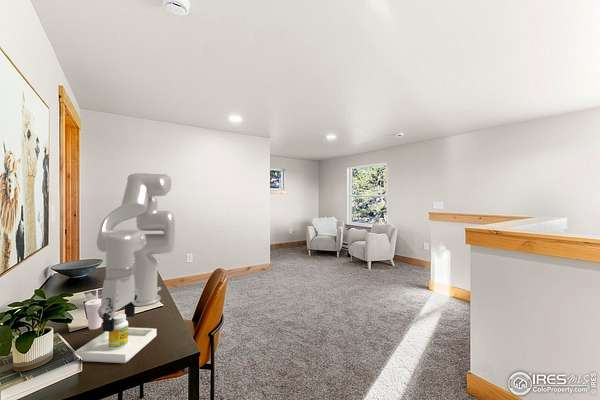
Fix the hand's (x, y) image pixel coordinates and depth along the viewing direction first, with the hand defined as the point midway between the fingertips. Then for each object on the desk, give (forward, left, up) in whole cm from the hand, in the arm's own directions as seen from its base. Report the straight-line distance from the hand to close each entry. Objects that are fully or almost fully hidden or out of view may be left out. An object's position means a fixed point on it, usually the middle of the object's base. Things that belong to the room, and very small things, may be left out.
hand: (119, 323), depth 89 cm
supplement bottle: (+1, 0, -7) cm, 7 cm away
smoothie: (-11, -18, -8) cm, 22 cm away
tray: (+1, 0, -8) cm, 7 cm away
